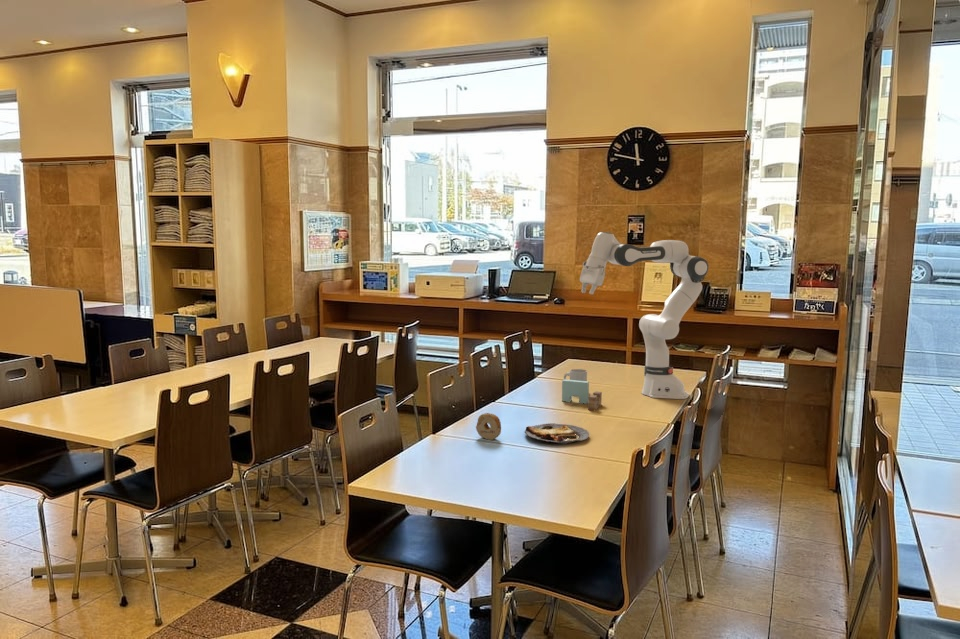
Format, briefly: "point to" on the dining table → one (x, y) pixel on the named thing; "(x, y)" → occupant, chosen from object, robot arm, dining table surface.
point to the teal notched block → (575, 390)
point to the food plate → (556, 432)
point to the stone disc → (484, 429)
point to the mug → (577, 375)
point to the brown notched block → (594, 400)
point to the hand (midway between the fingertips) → (587, 293)
